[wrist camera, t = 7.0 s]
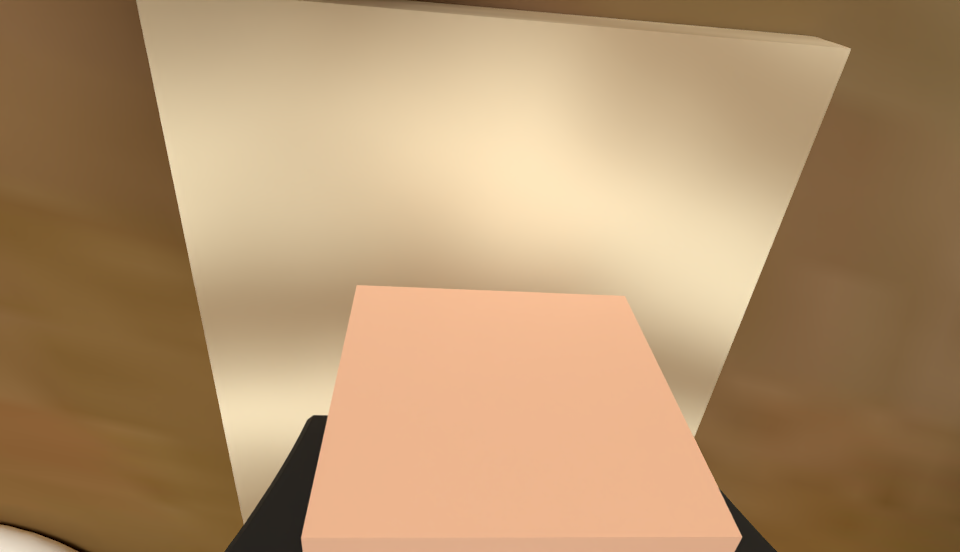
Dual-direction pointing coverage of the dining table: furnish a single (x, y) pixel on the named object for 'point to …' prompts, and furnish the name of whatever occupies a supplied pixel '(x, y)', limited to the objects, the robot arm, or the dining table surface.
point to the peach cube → (506, 432)
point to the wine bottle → (28, 541)
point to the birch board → (466, 177)
